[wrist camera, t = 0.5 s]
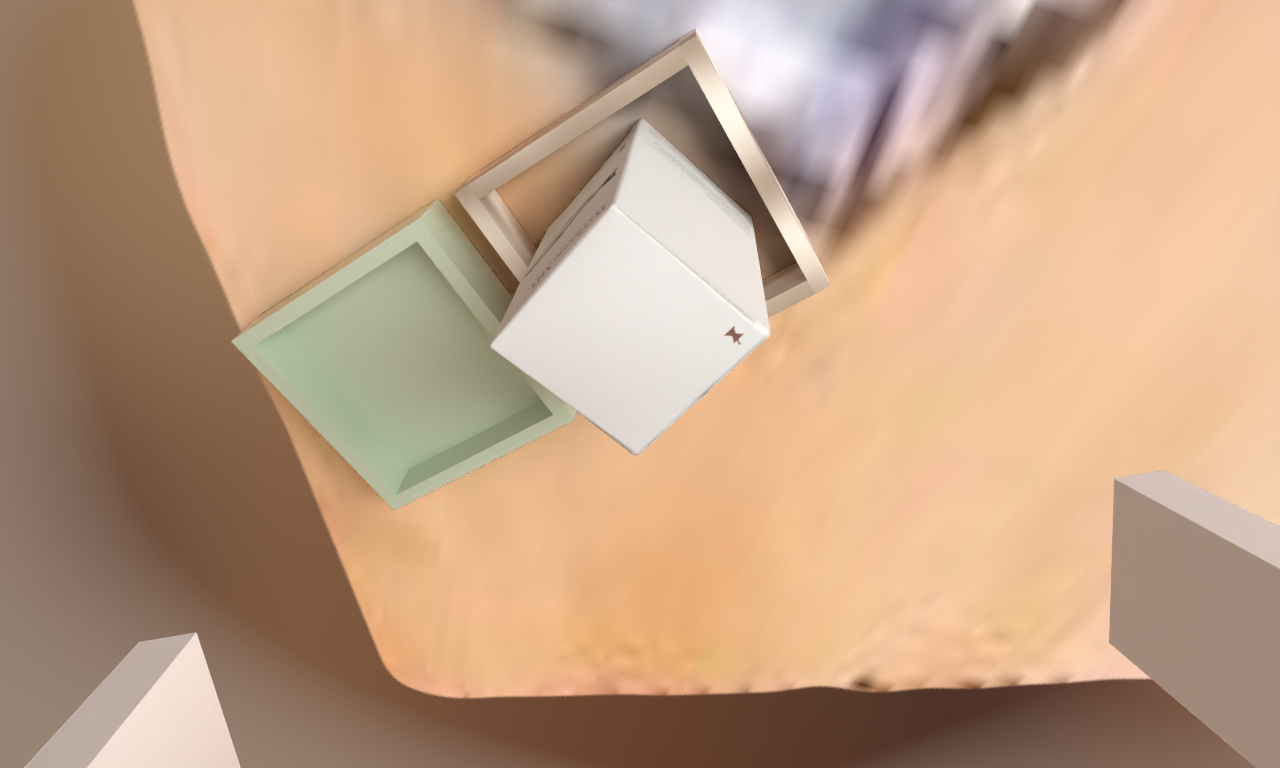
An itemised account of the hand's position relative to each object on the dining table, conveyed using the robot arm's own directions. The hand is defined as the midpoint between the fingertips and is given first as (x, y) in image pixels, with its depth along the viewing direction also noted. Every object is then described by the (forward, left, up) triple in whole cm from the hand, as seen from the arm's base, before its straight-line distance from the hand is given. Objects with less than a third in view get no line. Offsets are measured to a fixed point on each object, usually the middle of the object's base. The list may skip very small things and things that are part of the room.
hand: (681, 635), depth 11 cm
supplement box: (+2, -4, -29) cm, 29 cm away
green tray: (+2, -18, -29) cm, 34 cm away
